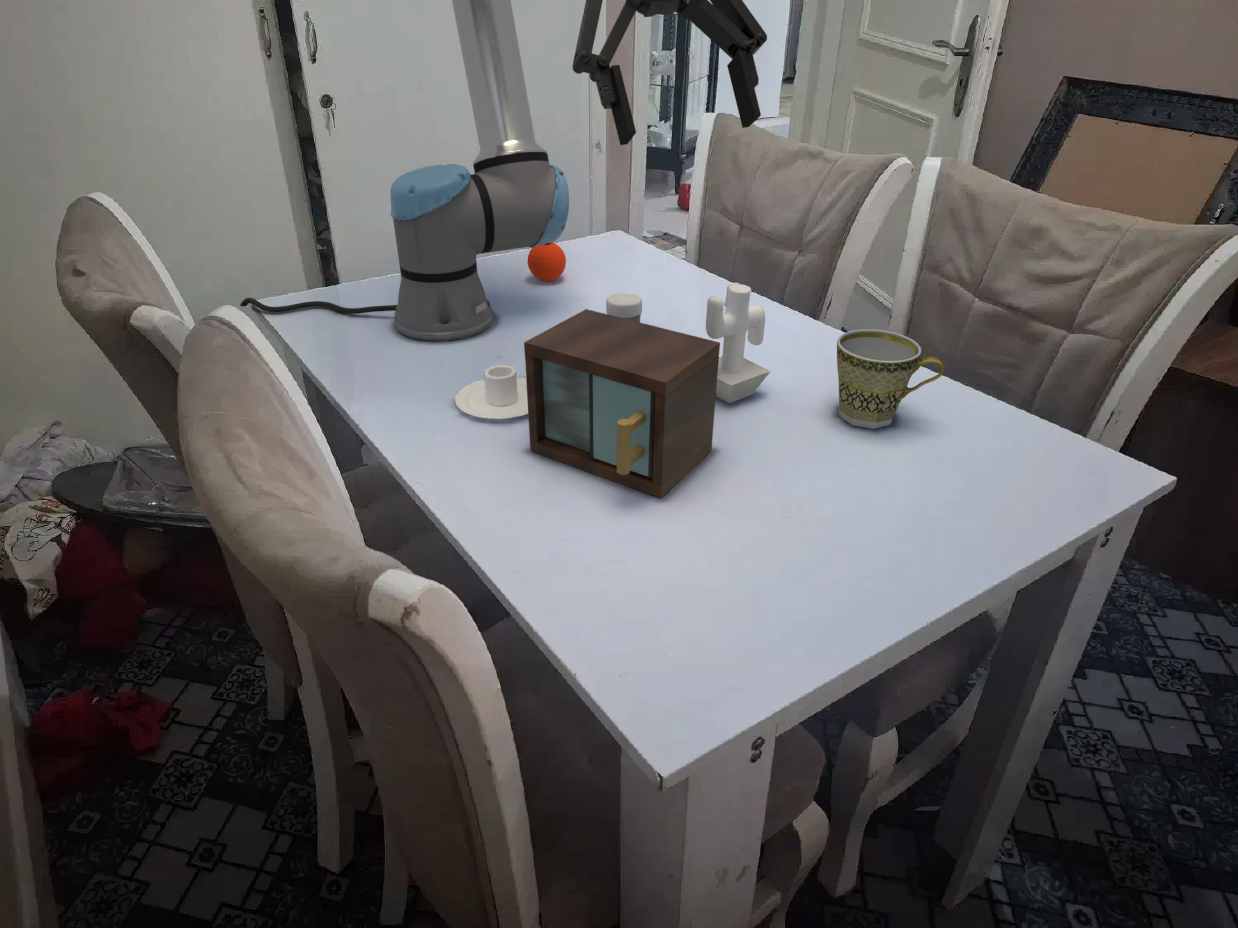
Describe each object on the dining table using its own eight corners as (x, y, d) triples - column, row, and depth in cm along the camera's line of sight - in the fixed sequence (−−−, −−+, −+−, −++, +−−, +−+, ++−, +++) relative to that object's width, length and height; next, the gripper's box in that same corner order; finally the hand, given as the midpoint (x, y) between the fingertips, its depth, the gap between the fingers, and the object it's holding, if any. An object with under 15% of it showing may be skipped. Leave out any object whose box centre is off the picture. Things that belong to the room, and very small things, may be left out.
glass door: (568, 473, 90) (565, 388, 84) (593, 454, 93) (592, 371, 88) (631, 496, 86) (633, 409, 80) (655, 475, 89) (658, 390, 84)
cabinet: (530, 451, 97) (523, 342, 90) (587, 411, 106) (586, 308, 98) (660, 498, 89) (665, 382, 81) (711, 451, 97) (720, 342, 90)
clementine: (533, 271, 152) (531, 233, 149) (570, 272, 152) (569, 234, 148) (524, 285, 146) (522, 246, 142) (563, 287, 145) (562, 247, 141)
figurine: (773, 393, 110) (786, 286, 102) (722, 413, 106) (731, 302, 98) (736, 374, 115) (745, 271, 107) (685, 392, 110) (691, 285, 102)
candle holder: (526, 429, 101) (524, 398, 99) (439, 415, 104) (435, 385, 102) (560, 388, 111) (559, 359, 109) (479, 376, 114) (477, 348, 112)
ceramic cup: (820, 427, 102) (832, 354, 97) (831, 393, 110) (842, 324, 105) (928, 446, 99) (947, 371, 93) (931, 410, 107) (948, 338, 101)
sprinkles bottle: (646, 395, 110) (649, 299, 103) (618, 403, 107) (619, 306, 100) (627, 382, 113) (629, 289, 106) (599, 390, 111) (599, 295, 104)
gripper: (523, -106, 72) (583, 129, 73) (767, -116, 80) (819, 98, 81) (509, -52, 80) (563, 162, 80) (734, -65, 87) (781, 130, 88)
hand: (691, 130), depth 80 cm, fingers open, 13 cm apart
